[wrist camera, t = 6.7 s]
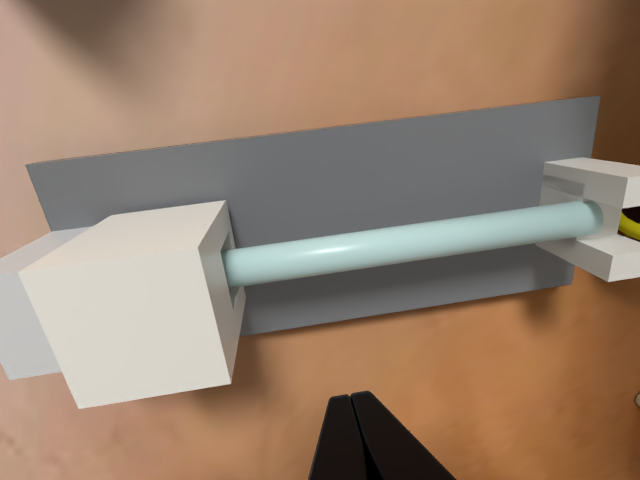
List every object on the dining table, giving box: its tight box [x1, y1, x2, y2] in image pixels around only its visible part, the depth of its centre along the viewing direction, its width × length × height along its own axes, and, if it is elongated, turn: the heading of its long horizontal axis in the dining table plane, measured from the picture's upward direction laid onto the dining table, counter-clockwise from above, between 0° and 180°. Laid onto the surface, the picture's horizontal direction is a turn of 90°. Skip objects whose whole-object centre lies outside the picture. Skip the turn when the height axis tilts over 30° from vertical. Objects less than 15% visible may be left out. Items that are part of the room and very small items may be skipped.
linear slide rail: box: [0, 96, 640, 380], centre depth 16 cm, size 26×10×6 cm, turn 96°
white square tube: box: [18, 200, 246, 409], centre depth 14 cm, size 5×5×6 cm
